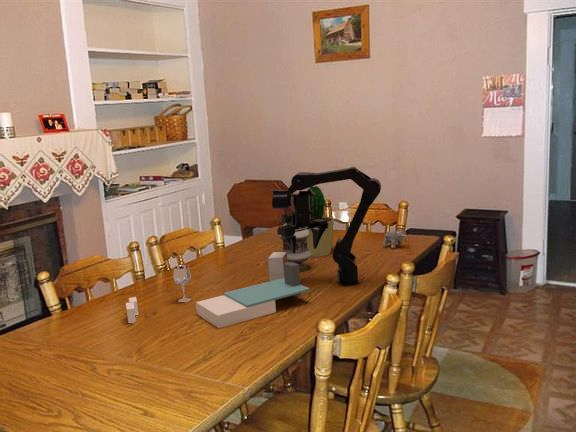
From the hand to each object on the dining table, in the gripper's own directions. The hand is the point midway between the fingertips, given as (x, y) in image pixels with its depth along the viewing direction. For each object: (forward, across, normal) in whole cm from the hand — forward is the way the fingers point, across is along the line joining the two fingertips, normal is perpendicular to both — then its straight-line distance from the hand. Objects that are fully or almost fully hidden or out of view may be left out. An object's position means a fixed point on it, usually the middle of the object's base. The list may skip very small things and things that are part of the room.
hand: (304, 250), depth 210 cm
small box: (+12, +7, -8) cm, 16 cm away
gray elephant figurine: (+12, -58, -14) cm, 61 cm away
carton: (+12, +34, +10) cm, 38 cm away
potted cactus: (+12, -28, -32) cm, 44 cm away
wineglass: (+12, +42, -13) cm, 46 cm away
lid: (+11, +23, +10) cm, 27 cm away
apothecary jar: (+12, -8, -18) cm, 23 cm away
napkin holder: (+13, +61, -10) cm, 63 cm away
